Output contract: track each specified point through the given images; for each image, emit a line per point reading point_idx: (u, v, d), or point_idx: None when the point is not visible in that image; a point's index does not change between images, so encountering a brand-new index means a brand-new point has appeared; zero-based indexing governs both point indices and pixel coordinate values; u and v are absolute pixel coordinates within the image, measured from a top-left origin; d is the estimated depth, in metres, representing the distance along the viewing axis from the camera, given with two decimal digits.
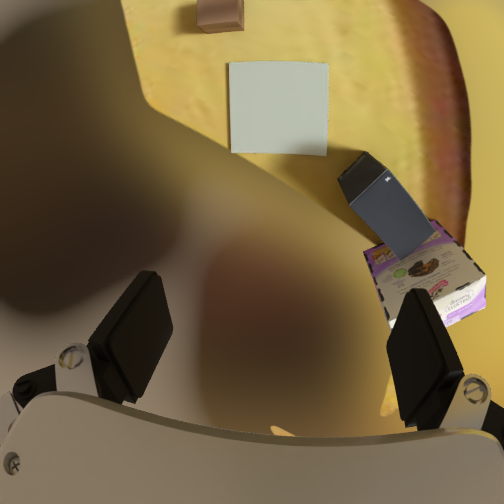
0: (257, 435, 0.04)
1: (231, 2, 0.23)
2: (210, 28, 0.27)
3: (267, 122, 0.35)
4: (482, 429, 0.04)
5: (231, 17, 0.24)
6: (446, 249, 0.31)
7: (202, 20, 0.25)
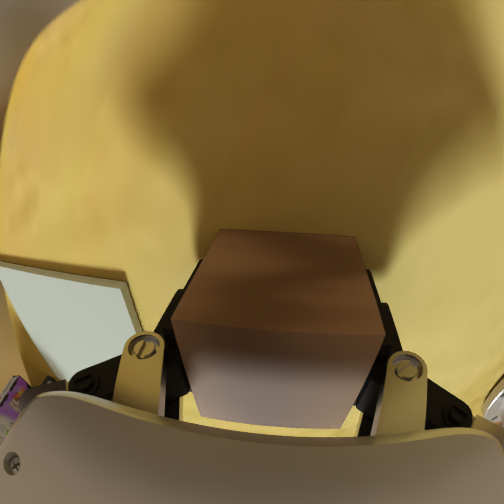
0: (257, 435, 0.04)
1: (284, 419, 0.08)
2: None
3: (48, 328, 0.16)
4: None
5: (215, 410, 0.08)
6: None
7: (202, 343, 0.07)
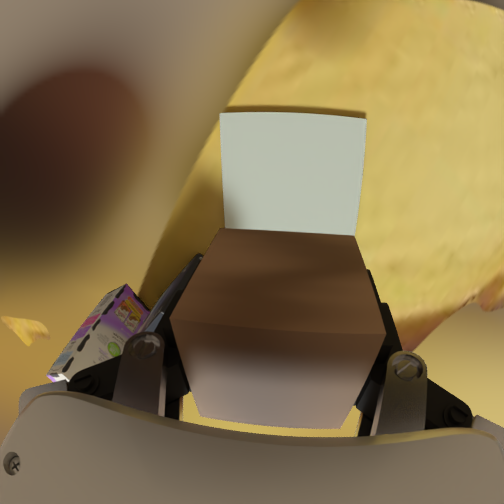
0: (257, 435, 0.04)
1: (284, 419, 0.08)
2: None
3: (267, 166, 0.25)
4: None
5: (214, 410, 0.08)
6: None
7: (201, 342, 0.07)
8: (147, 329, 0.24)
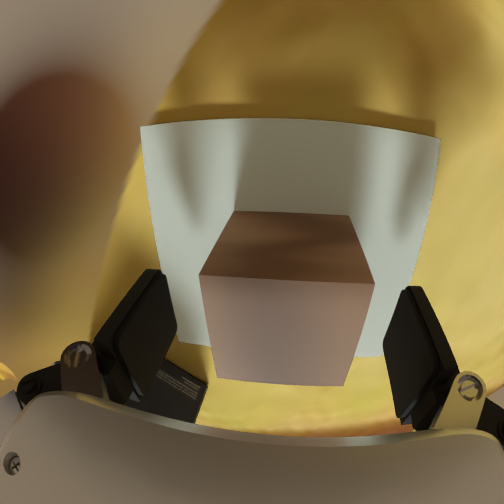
0: (257, 435, 0.04)
1: (293, 376, 0.10)
2: None
3: None
4: (477, 427, 0.04)
5: (231, 369, 0.10)
6: None
7: (223, 296, 0.08)
8: None
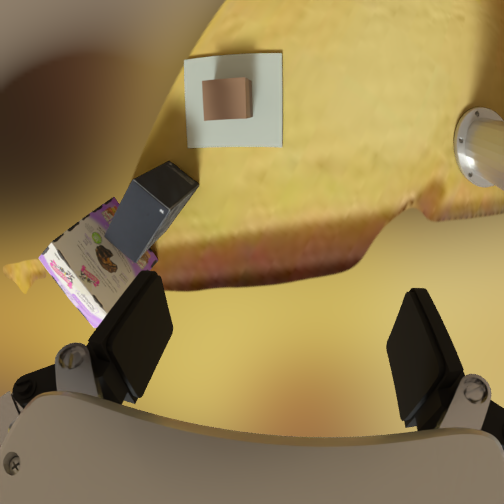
0: (257, 435, 0.04)
1: (228, 114, 0.29)
2: None
3: None
4: (482, 429, 0.04)
5: (208, 114, 0.30)
6: (128, 276, 0.40)
7: (207, 85, 0.28)
8: (122, 199, 0.32)
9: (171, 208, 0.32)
